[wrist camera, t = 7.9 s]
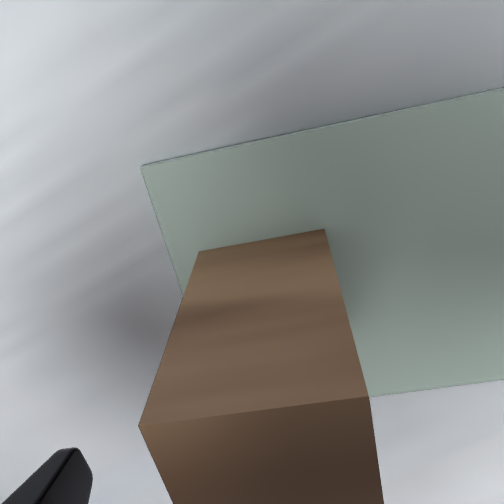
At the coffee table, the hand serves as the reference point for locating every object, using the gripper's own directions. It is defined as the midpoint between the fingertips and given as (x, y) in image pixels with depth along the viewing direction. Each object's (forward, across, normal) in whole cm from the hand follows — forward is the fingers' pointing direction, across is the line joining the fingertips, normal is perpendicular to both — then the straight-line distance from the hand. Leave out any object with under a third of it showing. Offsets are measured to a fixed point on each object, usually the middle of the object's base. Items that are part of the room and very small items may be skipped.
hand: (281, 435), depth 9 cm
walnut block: (+6, 0, 0) cm, 6 cm away
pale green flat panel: (+6, -4, 0) cm, 7 cm away
